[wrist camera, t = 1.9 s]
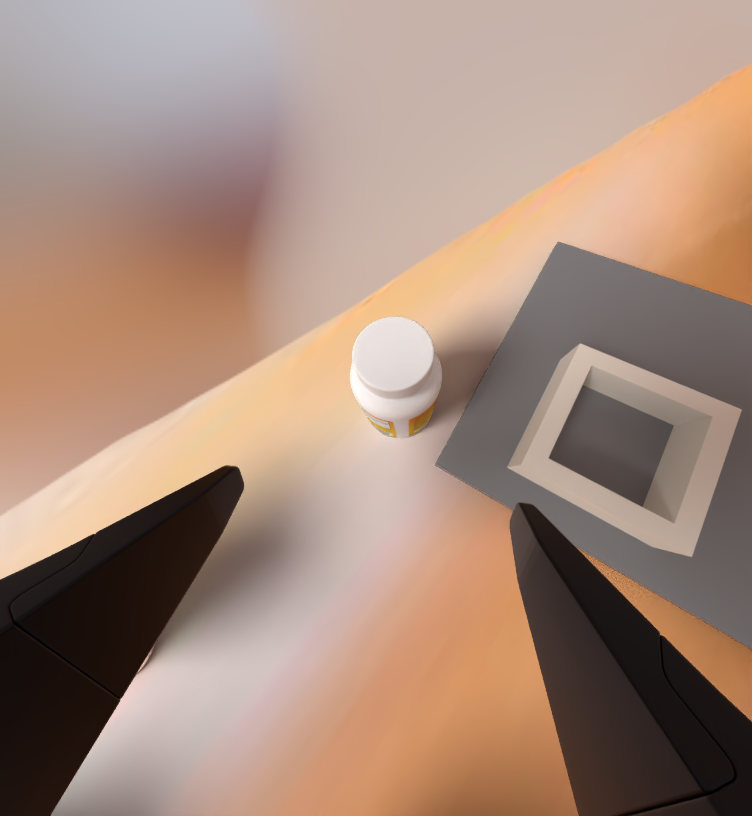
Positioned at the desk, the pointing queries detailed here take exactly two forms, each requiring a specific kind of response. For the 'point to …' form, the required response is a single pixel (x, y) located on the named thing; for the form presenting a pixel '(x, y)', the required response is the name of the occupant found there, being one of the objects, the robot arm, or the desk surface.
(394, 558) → the desk surface
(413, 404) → the supplement bottle
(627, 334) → the awning socket
